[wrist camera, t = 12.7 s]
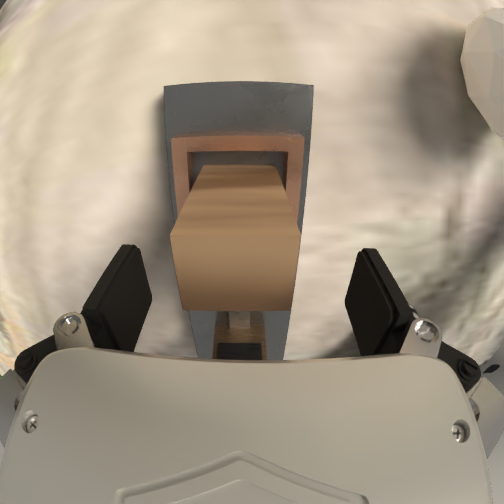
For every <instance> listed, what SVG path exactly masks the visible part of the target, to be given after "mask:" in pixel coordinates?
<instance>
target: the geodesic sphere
mask: <svg viewBox="0 0 504 504" xmlns="http://www.w3.org/2000/svg"><path fill="white" fill-rule="evenodd" d="M460 61H461V65H462V69H463V74H464V78H465V83H466V88H467V93H468V96H469V97H470V99H471V100H472V102H473V103H474V104H475V106H476V107H477V109H478V110H479V112H480V113H481V114H482V116H483V117H484V119H485V120H486V122H487V124H488V125H489V127H490V128H491V129H492V130H493V132H495V133H496V134H497V135H498V136H499V137H501V138H502V139H503V140H504V8H490V9H489V10H487V11H486V12H485V13H483V14H482V15H481V16H479V17H478V18H477V19H475V20H474V21H473V22H472V23H470V24H469V25H468V26H467V28H466V34H465V39H464V44H463V49H462V54H461V58H460Z"/></svg>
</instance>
